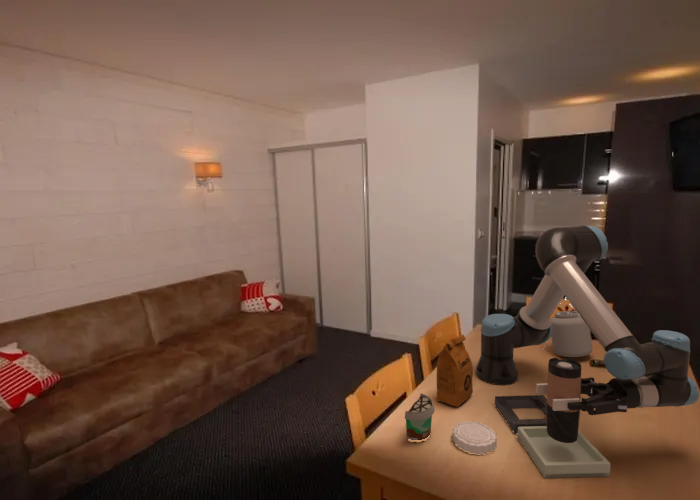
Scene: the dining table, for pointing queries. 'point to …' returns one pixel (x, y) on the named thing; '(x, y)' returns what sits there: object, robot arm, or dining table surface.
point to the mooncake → (474, 437)
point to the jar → (570, 335)
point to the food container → (419, 418)
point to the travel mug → (562, 386)
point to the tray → (563, 455)
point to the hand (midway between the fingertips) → (544, 396)
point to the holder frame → (526, 401)
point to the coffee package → (454, 373)
